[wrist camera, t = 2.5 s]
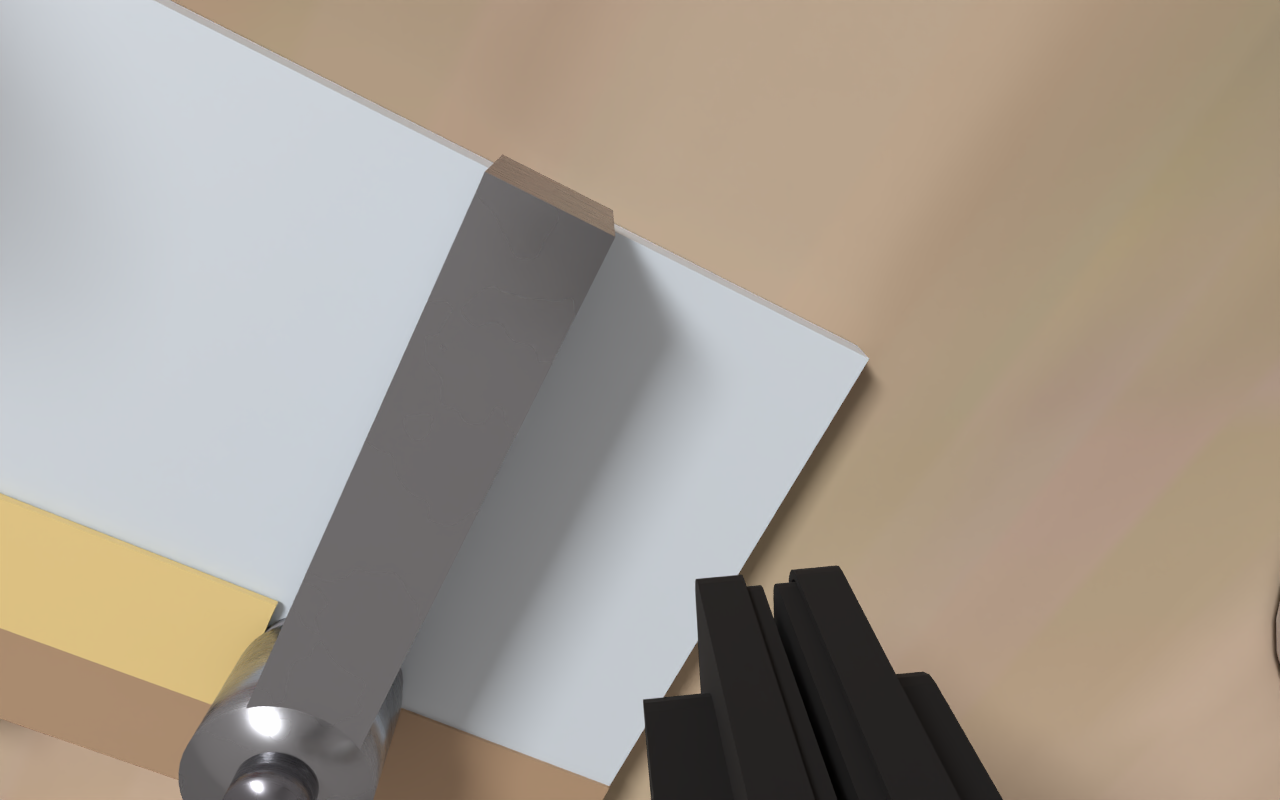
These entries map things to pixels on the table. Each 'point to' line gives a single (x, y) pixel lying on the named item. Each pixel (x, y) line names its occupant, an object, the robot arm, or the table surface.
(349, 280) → the door board
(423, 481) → the latch bar
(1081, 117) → the table surface
